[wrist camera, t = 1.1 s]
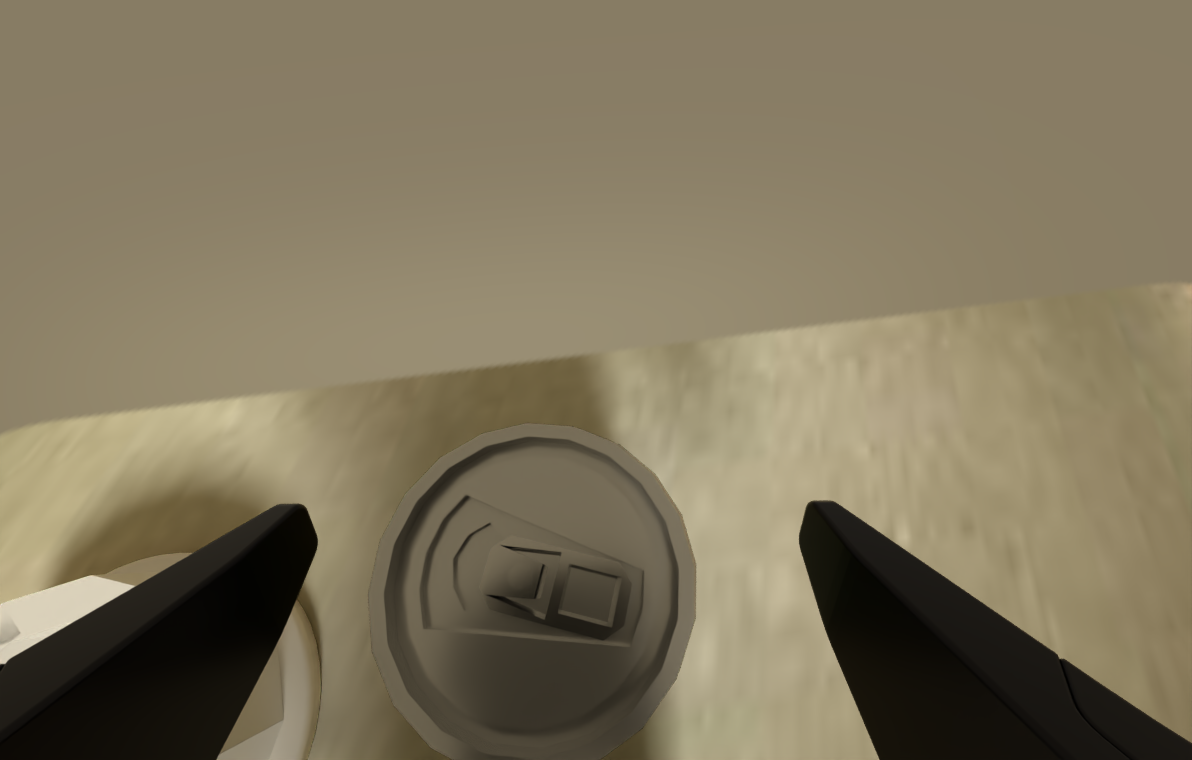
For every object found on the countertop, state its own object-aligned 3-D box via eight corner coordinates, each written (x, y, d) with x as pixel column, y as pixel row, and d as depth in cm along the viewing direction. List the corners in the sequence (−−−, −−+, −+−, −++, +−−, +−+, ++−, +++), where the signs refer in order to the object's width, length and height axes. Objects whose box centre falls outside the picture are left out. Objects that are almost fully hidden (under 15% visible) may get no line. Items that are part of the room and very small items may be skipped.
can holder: (234, 970, 14) (107, 1118, 11) (-80, 873, 15) (-301, 978, 12) (366, 587, 18) (306, 597, 14) (107, 525, 19) (-15, 519, 15)
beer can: (653, 509, 19) (734, 450, 8) (624, 657, 17) (676, 856, 6) (525, 478, 20) (426, 378, 8) (485, 619, 18) (289, 738, 6)
